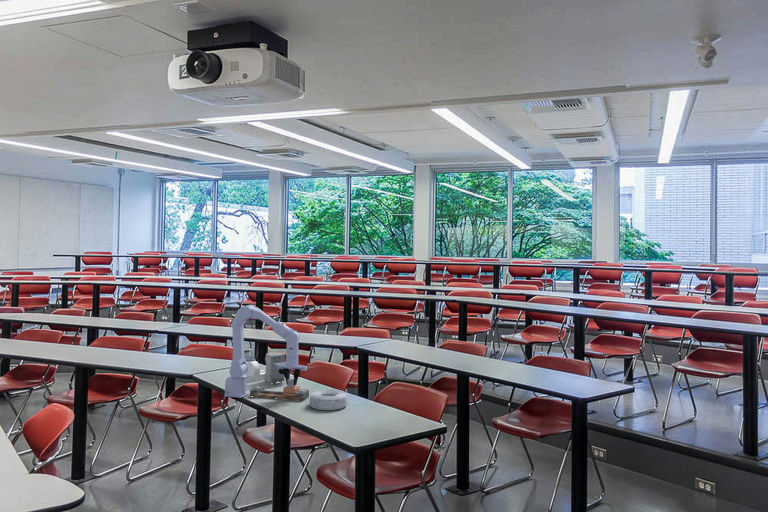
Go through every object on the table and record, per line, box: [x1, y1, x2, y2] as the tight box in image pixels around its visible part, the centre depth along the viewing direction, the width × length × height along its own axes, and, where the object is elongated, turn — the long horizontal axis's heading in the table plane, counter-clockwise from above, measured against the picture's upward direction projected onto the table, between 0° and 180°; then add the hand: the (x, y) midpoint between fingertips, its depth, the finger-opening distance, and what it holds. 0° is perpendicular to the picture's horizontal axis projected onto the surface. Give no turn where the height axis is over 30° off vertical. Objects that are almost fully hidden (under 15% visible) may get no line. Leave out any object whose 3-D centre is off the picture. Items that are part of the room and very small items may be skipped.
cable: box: [309, 388, 349, 411], centre depth 251 cm, size 18×18×6 cm
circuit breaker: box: [264, 352, 286, 384], centre depth 293 cm, size 8×14×15 cm, turn 40°
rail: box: [249, 385, 310, 402], centre depth 264 cm, size 27×8×4 cm, turn 79°
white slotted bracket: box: [246, 360, 266, 383], centre depth 300 cm, size 10×18×10 cm, turn 134°
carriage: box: [282, 377, 301, 396], centre depth 263 cm, size 6×6×7 cm
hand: (291, 384), depth 263 cm, fingers closed on carriage, 3 cm apart
